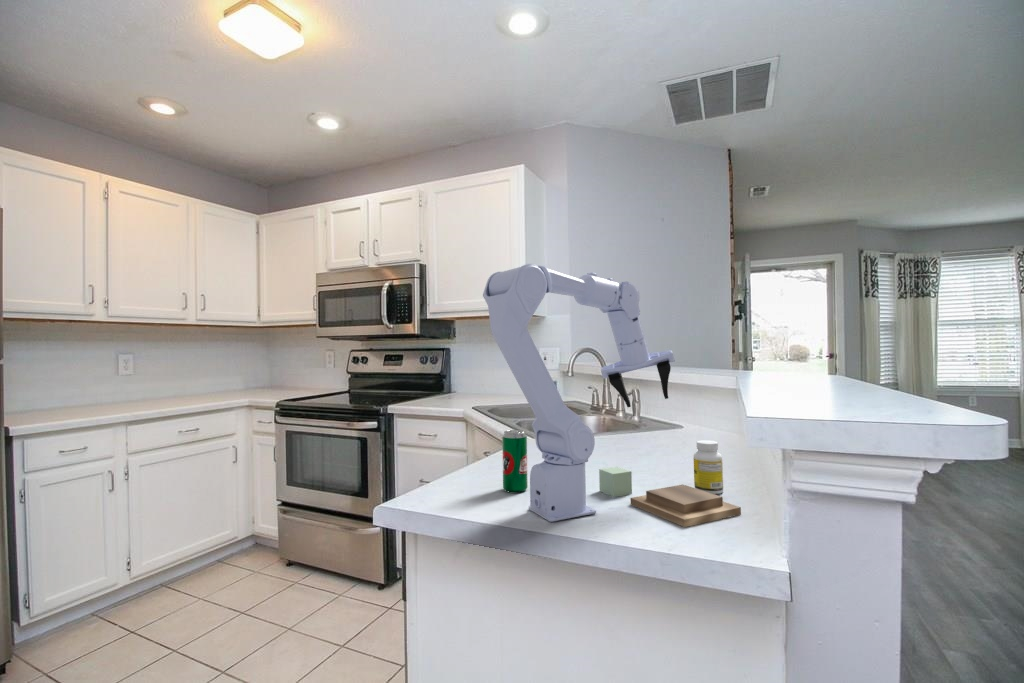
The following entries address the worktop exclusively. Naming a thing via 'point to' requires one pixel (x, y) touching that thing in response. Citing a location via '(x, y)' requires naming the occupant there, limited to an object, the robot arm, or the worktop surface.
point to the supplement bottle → (708, 467)
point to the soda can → (514, 460)
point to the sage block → (615, 481)
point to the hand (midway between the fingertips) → (647, 401)
